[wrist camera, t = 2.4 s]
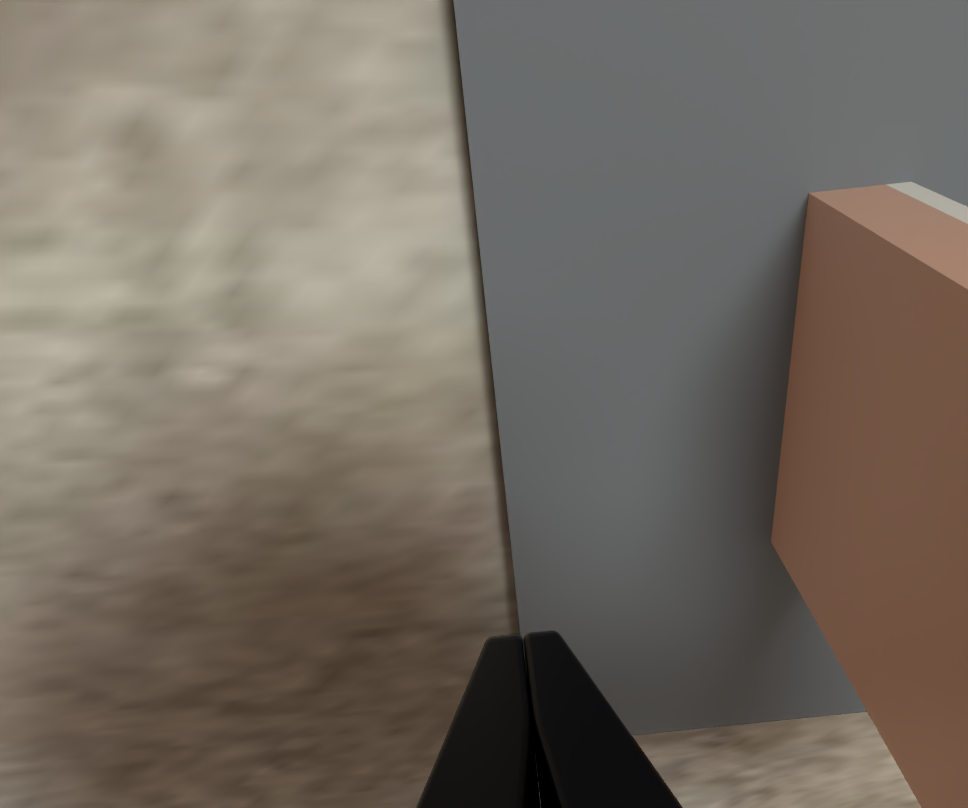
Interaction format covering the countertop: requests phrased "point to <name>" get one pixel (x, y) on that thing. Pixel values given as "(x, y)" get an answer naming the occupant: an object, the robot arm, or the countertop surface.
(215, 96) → the countertop surface
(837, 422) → the tile
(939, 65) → the mat
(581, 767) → the robot arm
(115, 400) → the countertop surface
